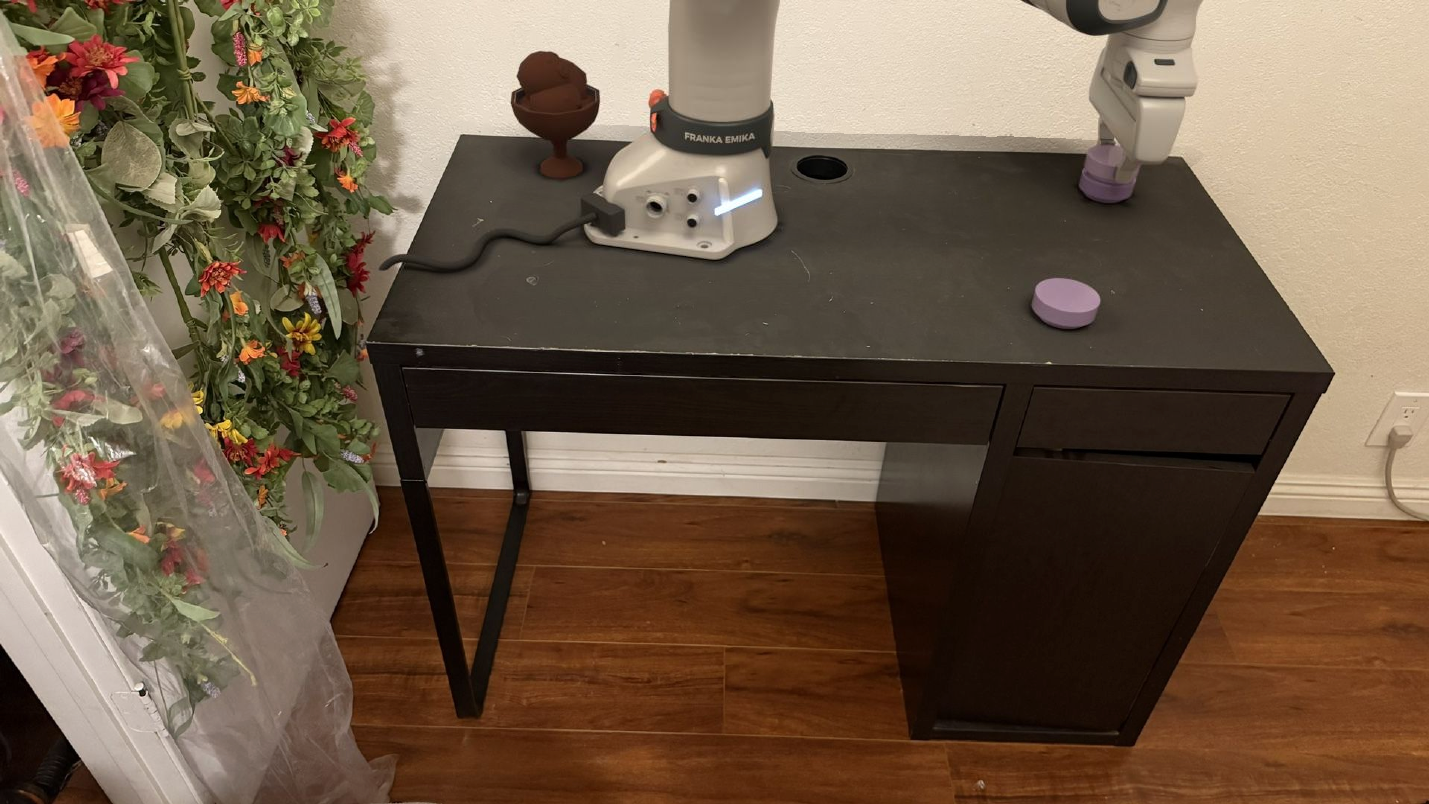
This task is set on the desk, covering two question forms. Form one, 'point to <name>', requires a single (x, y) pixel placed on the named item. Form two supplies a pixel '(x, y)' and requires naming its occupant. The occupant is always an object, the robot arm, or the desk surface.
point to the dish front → (1065, 303)
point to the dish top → (1104, 162)
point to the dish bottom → (1104, 189)
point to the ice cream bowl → (555, 107)
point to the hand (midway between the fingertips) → (1112, 166)
